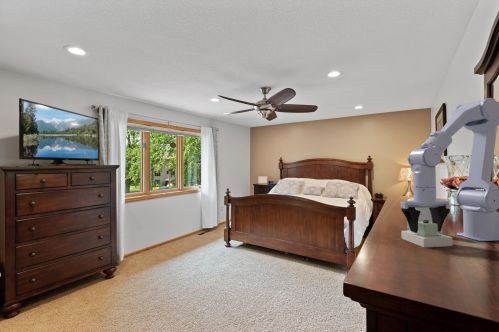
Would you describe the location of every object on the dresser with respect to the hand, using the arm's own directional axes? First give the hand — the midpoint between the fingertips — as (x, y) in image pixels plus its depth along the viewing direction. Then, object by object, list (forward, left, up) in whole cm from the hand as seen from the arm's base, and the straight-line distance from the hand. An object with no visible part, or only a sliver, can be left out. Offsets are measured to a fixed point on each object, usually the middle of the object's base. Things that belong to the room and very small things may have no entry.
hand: (425, 231), depth 75 cm
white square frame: (0, 0, -3) cm, 3 cm away
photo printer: (-8, -10, -3) cm, 13 cm away
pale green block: (0, 0, -3) cm, 3 cm away
